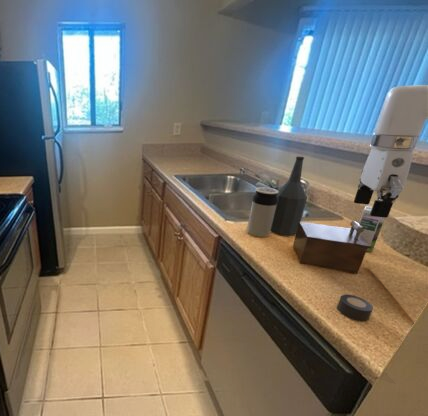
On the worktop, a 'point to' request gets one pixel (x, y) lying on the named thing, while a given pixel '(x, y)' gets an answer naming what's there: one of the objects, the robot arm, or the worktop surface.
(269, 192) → the travel mug
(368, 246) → the lid
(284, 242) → the worktop surface
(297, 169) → the bottle
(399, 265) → the worktop surface
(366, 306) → the tape
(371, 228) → the syrup box
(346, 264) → the bin
